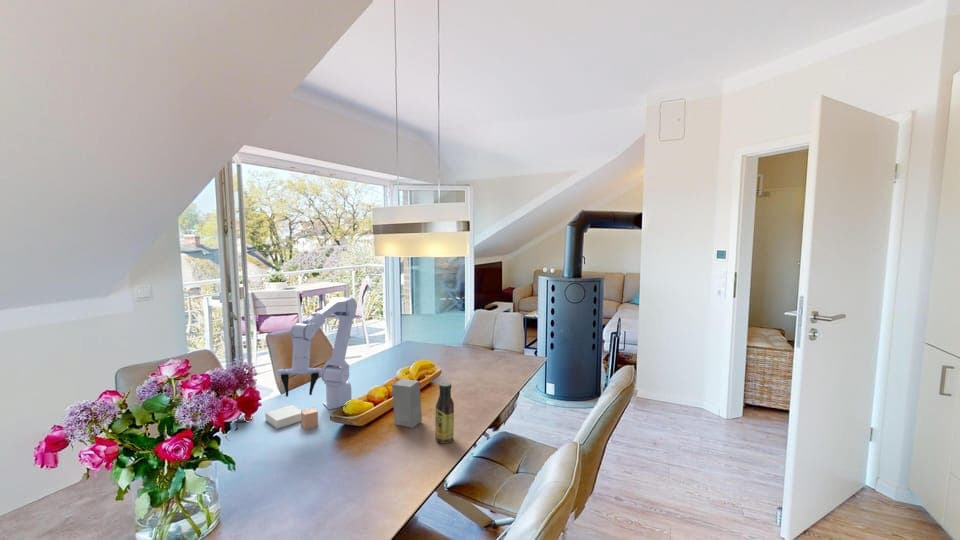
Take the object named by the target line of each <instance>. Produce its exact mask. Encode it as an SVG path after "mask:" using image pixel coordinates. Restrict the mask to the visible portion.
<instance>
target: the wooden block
mask: <svg viewBox="0 0 960 540" xmlns="http://www.w3.org/2000/svg"><path fill="white" fill-rule="evenodd" d="M300 410H301V421H300V422H301V423H300V424H301V427H302V428H303V429H304V430H308V429H312V428H316V427H319V412H318V410H317V409H316V408H315V407H311V408H310V407H309V408H305V409H300Z"/></svg>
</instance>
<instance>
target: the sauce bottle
mask: <svg viewBox="0 0 960 540" xmlns="http://www.w3.org/2000/svg"><path fill="white" fill-rule="evenodd" d="M438 385H439V386H438V388H439V395H438V398H437V402H436V404H435V417H434V418H435V419H434V420H435V422H434V424H435V428H434V429H435V431H434V435H435V441H436V442H438V443H439V444H449V443H451V442H453V439H454V434H455V432H454V431H455V430H454V427H455V425H454V424H455V408H454V407H455V404H454V401H453V398H452V396H451V395H452V394H451V393H452V392H451V390H452V383H451V382H449V381H441V382H439V384H438Z"/></svg>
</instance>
